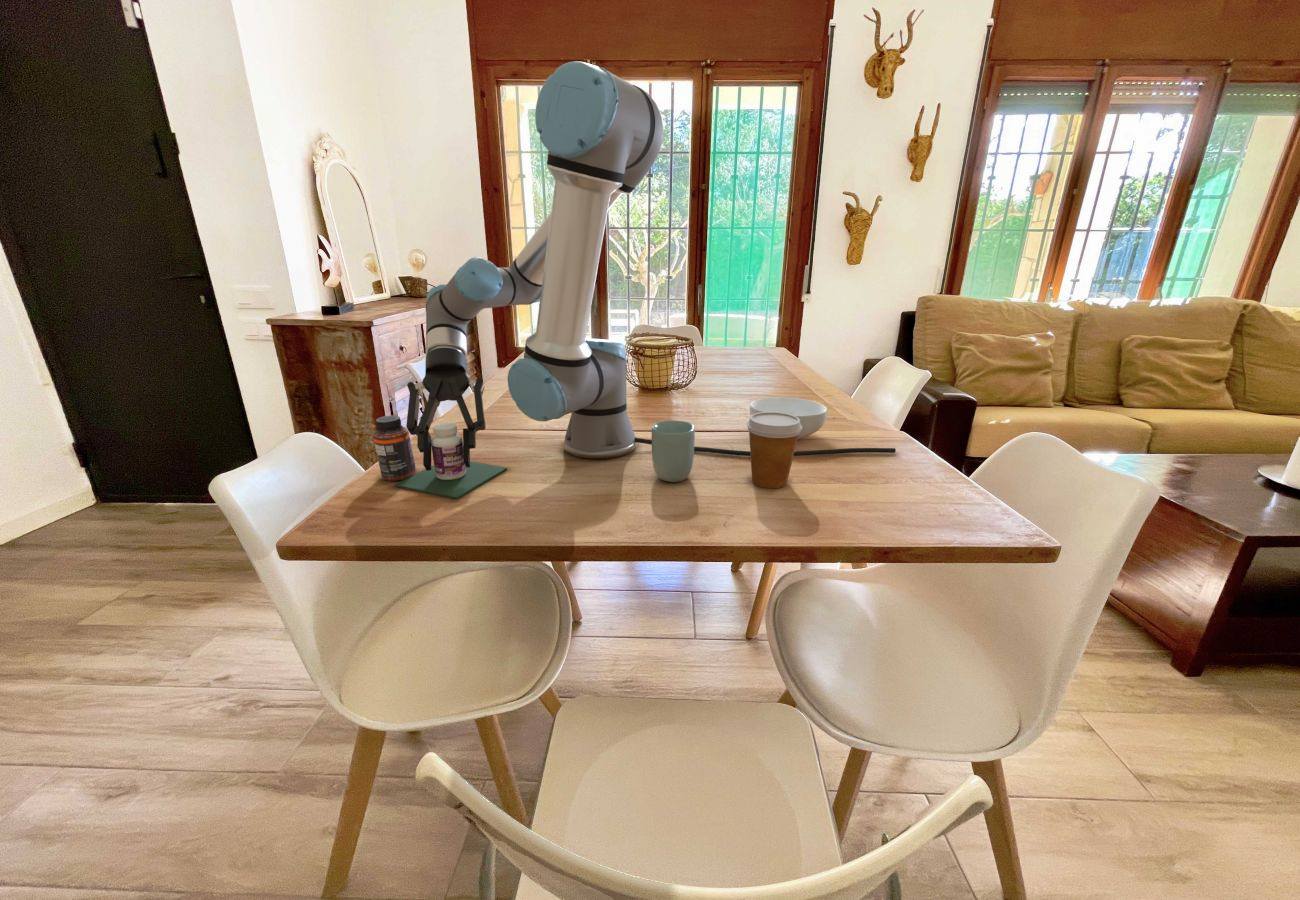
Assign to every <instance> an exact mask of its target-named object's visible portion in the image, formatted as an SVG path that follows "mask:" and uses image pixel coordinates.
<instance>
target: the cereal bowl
mask: <svg viewBox="0 0 1300 900" xmlns="http://www.w3.org/2000/svg"><path fill="white" fill-rule="evenodd" d="M759 412H781V413H787V414H791V415H794V416H796V417H798V418H799V419H800V424H801V426H802V430H801V431H800V433H799V435H798V439H797V440H800V439H803V438H804V437H807V436H810V435H812V434H814V433H817V432H818V431H819V430H821V428H822V427H823V426H824V424H825V422H826V420H827V416H828V415H827V414H828V408H827V406H826V405H824V404H822V403H820V402H818V401H814V400H810V399H805V398H800V397H788V396H787V397H786V396H773V397H763V398H759V399H755V400H753V401H752V402H750V404H749V417H750V416H751V415H752V414H755V413H759Z"/></svg>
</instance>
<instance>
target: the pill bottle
mask: <svg viewBox="0 0 1300 900" xmlns="http://www.w3.org/2000/svg"><path fill="white" fill-rule="evenodd" d="M432 432H433V435H434V437H432V438H431V454H432V460H433V466H434V467H435V473H436V477H437V478H439V479H441V480H453V479H458V478H461V477H463V476H464V475H465V474H466V466H465V464H464V459H463V437H462V436H461V435H460V434H458V426H457V424H456V423H455V422H454V423H453V422H443V423H438V424H435V425H433V426H432Z"/></svg>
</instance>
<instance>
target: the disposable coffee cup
mask: <svg viewBox="0 0 1300 900" xmlns="http://www.w3.org/2000/svg"><path fill="white" fill-rule="evenodd" d="M746 427H747V430H748V435H749V451H750V455H751V456H750V470H751V481H752V483H753V484H754V485H756V486H758V487H762V488H766V489H779V488H783V487H785V486H787V484H788V480H789V477H790V473H791V468H792V464H793V459H794V457H795V456H794V452H795V451H796V447H797V443H798V440H799V439H798V435H799V433H800V431H801V430H802V426H801V424H800V419H799V418H798V417H796V416H794V415H791V414H787V413H781V412H759V413H755V414H752V415H751V416H750V415H749V420H748V421H747V422H746Z"/></svg>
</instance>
